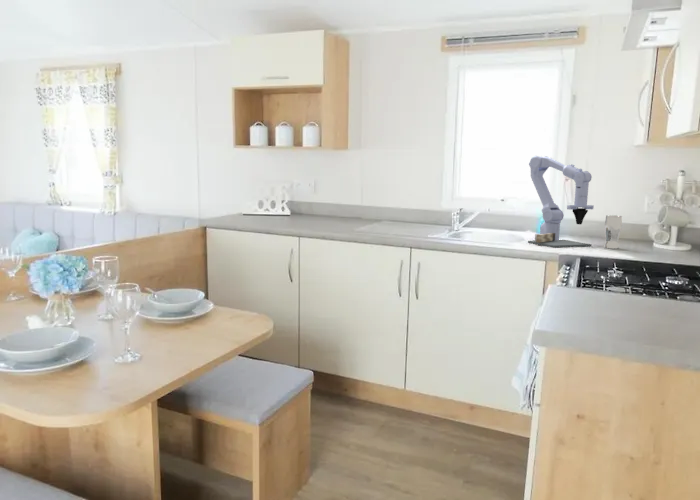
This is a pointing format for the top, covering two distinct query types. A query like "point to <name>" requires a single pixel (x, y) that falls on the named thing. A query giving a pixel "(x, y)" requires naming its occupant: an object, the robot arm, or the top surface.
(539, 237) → the gate
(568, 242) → the gate board
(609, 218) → the beer glass
